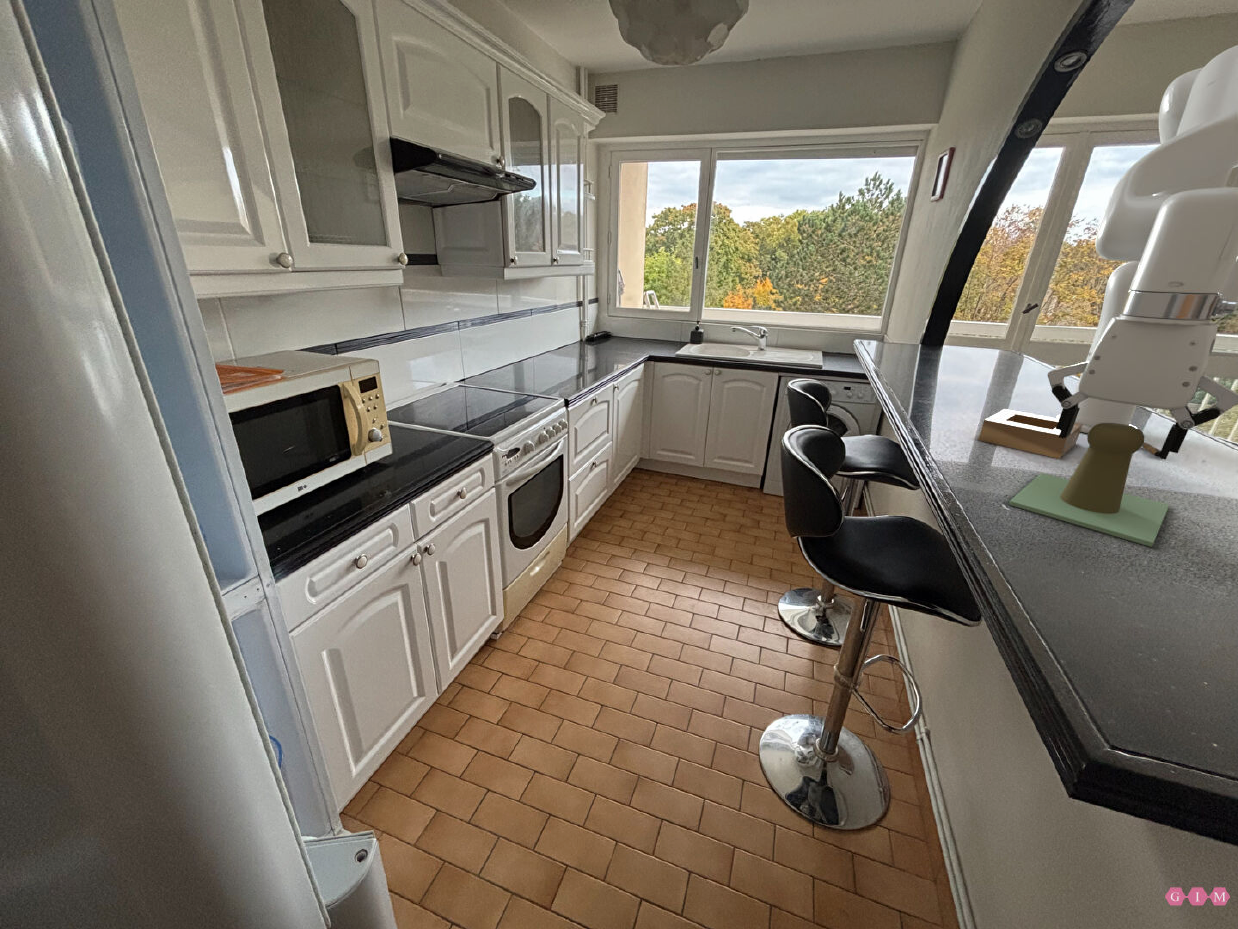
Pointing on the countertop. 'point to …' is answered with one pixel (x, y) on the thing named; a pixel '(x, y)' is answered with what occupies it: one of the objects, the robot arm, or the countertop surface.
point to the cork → (1103, 468)
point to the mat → (1130, 523)
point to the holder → (1028, 433)
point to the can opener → (1151, 449)
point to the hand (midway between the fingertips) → (1111, 445)
